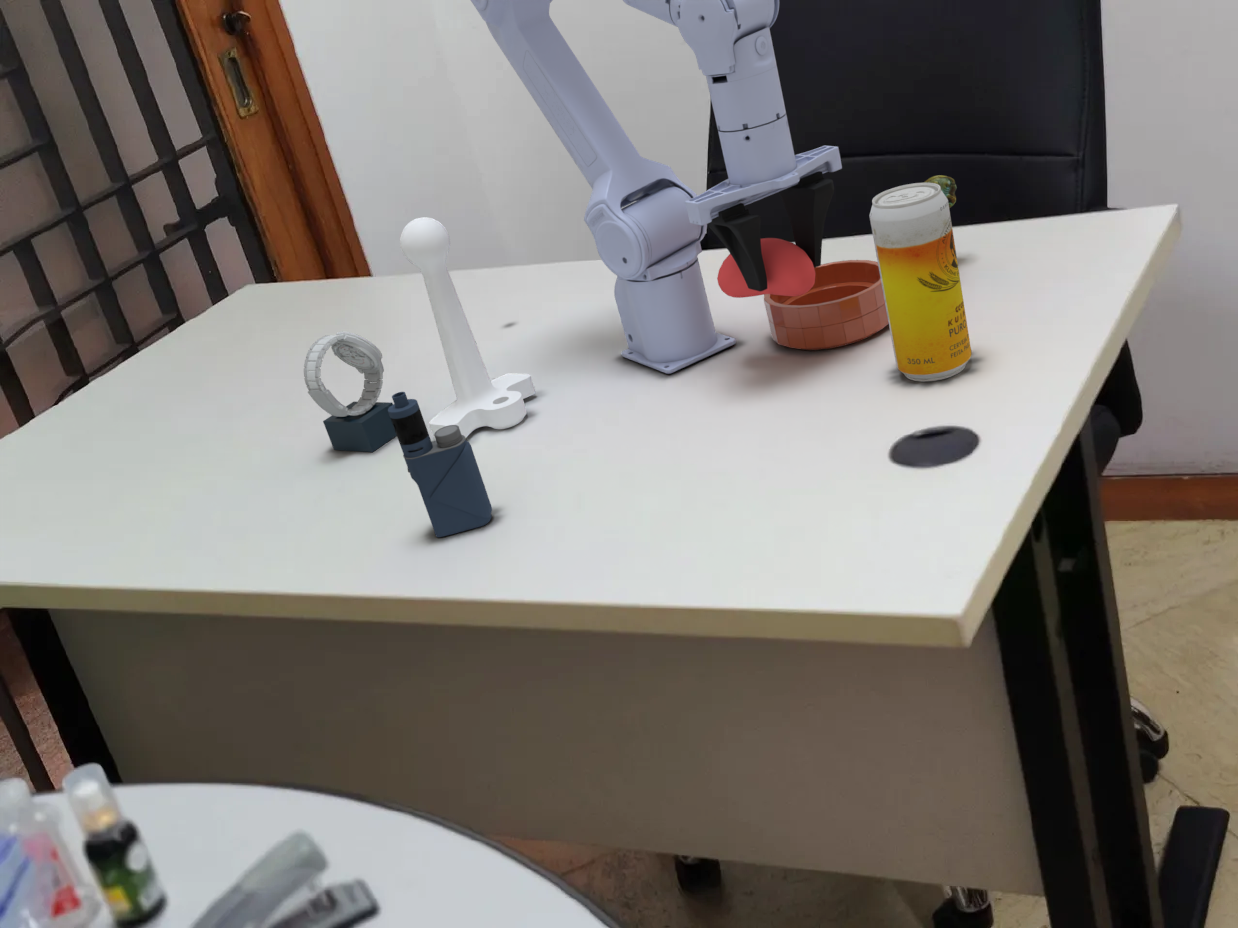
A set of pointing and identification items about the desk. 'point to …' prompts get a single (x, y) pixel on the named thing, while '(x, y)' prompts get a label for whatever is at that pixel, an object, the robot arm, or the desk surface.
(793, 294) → the red kidney bean
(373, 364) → the watch
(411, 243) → the joystick
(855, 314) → the bowl
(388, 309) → the desk surface
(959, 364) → the beer can
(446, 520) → the vaping device
